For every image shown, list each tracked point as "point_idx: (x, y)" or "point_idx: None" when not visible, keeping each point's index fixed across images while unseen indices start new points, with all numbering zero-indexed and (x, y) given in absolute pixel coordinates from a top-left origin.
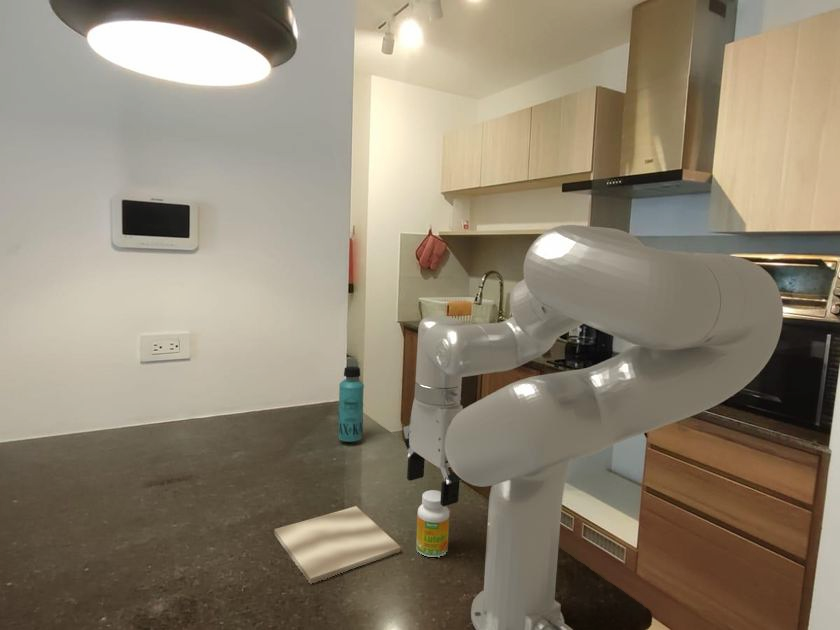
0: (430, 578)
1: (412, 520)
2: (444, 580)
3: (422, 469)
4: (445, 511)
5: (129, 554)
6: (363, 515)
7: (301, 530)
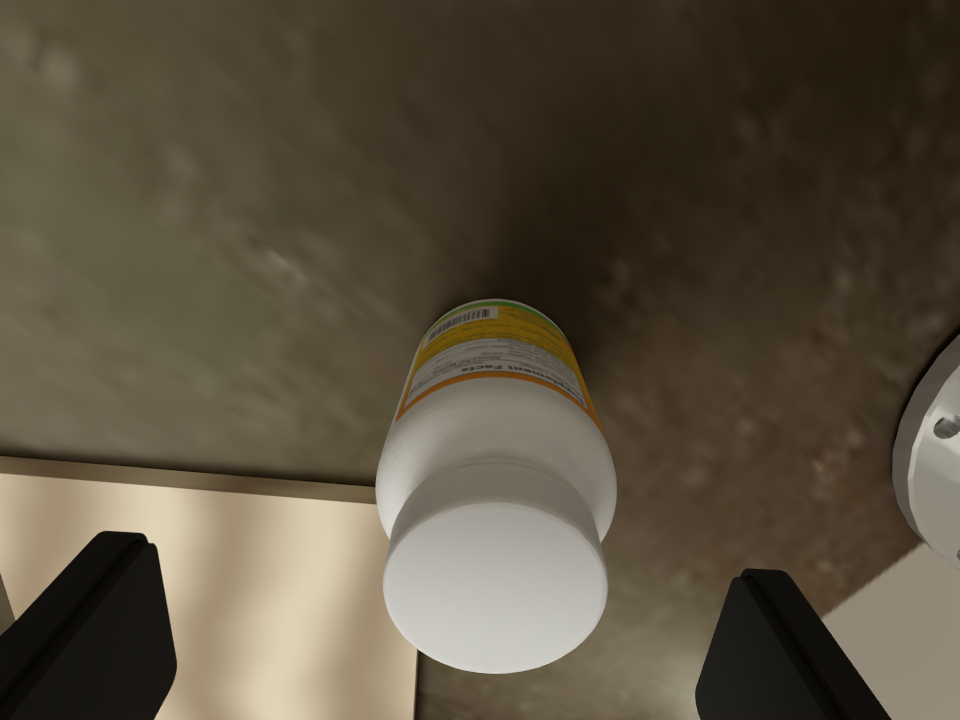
0: (647, 501)
1: (199, 274)
2: (698, 469)
3: (97, 640)
4: (595, 484)
5: None
6: (80, 491)
7: None
